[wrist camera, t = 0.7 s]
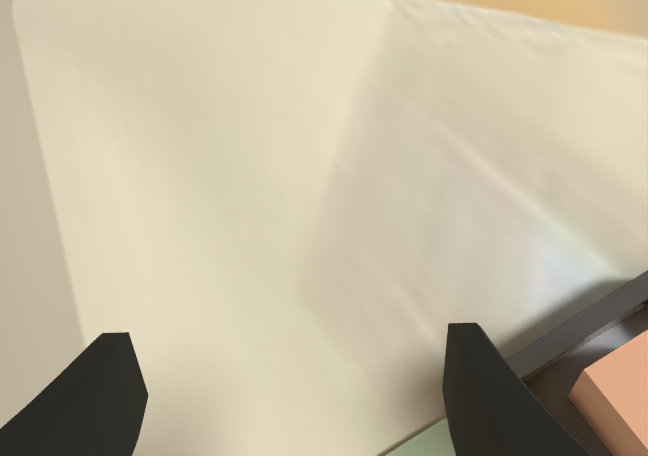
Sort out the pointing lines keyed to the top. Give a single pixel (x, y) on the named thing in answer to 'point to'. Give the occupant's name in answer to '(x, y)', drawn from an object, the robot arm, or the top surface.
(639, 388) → the peg
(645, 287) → the metal collar
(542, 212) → the top surface
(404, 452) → the rubber mat
